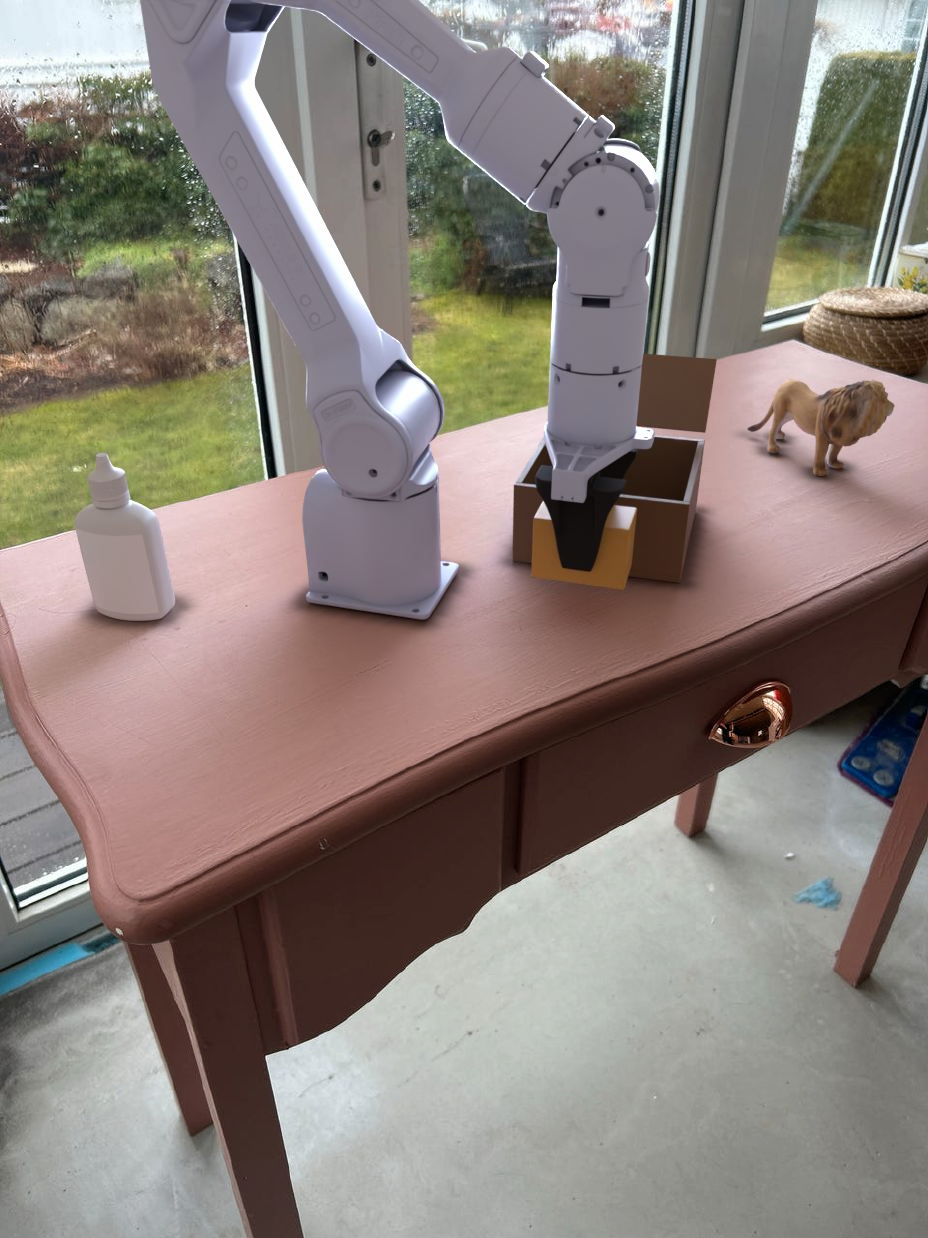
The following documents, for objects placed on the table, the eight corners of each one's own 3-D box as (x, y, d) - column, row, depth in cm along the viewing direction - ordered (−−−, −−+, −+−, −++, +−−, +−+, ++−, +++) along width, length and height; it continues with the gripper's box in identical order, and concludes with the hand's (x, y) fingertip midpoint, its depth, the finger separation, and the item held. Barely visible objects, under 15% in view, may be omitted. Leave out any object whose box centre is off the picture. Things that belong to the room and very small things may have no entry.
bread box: (512, 561, 75) (513, 484, 71) (548, 494, 85) (550, 424, 82) (679, 583, 72) (689, 504, 68) (695, 510, 82) (705, 439, 79)
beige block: (531, 577, 67) (533, 517, 64) (542, 553, 70) (545, 496, 67) (623, 590, 65) (629, 530, 63) (631, 566, 68) (637, 507, 65)
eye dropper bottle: (131, 635, 66) (94, 475, 60) (88, 608, 69) (49, 454, 63) (184, 610, 69) (154, 455, 63) (141, 585, 72) (107, 435, 66)
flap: (564, 347, 82) (564, 348, 83) (551, 417, 81) (552, 418, 82) (716, 358, 79) (716, 360, 79) (705, 431, 78) (705, 432, 79)
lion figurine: (887, 476, 88) (910, 381, 83) (849, 490, 85) (871, 392, 80) (763, 429, 98) (778, 342, 93) (727, 440, 96) (740, 351, 91)
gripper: (644, 405, 52) (624, 615, 60) (673, 334, 64) (653, 516, 71) (519, 393, 54) (514, 598, 61) (570, 326, 66) (561, 505, 73)
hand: (582, 554), depth 66 cm, fingers closed on beige block, 3 cm apart
